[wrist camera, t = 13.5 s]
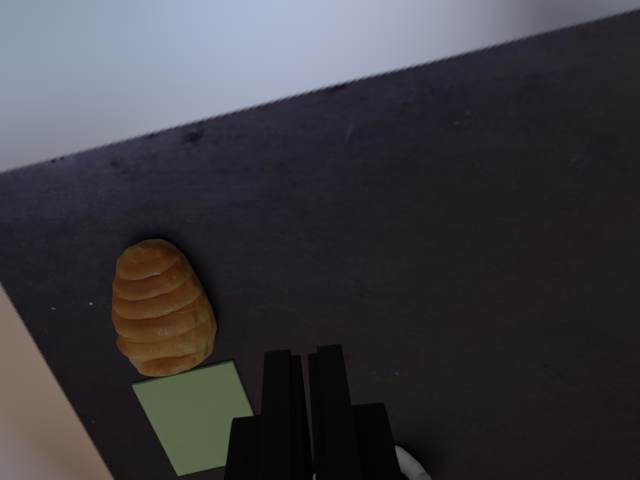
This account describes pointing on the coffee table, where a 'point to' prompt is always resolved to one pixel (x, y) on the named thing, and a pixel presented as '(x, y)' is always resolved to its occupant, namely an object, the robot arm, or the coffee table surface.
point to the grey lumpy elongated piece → (409, 466)
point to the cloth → (195, 413)
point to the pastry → (161, 310)
